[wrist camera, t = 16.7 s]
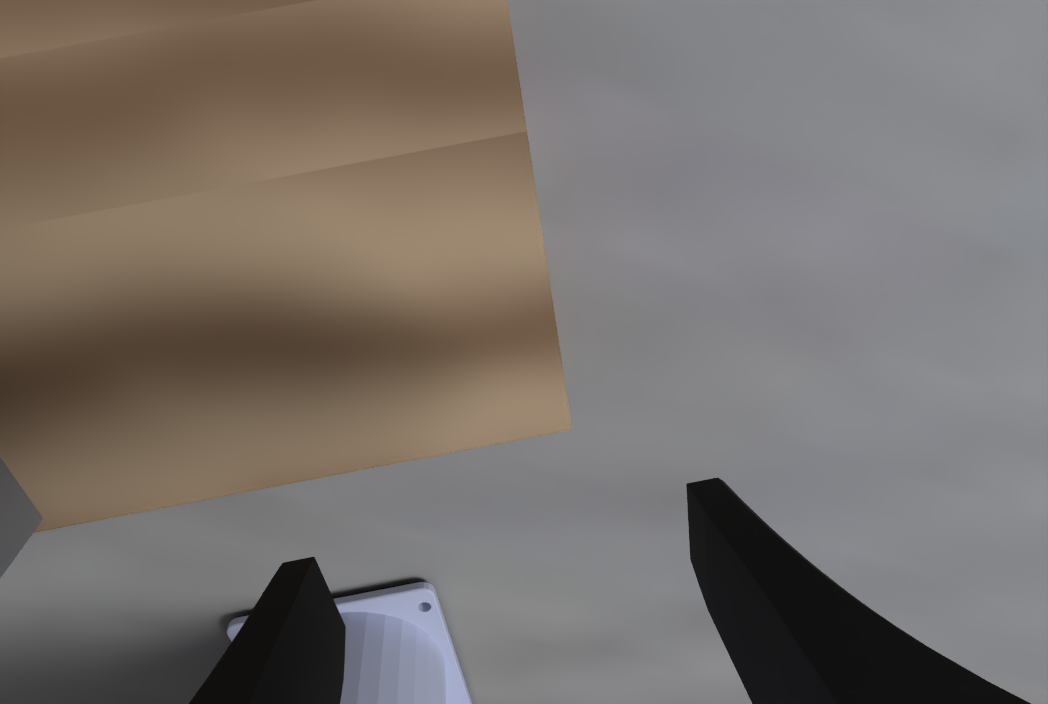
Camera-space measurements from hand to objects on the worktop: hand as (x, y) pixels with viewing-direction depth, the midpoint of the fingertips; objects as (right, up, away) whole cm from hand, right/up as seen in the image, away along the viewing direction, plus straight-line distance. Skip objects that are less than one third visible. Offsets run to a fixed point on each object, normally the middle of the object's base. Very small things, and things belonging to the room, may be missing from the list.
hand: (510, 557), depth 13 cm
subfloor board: (-12, +6, +6) cm, 15 cm away
